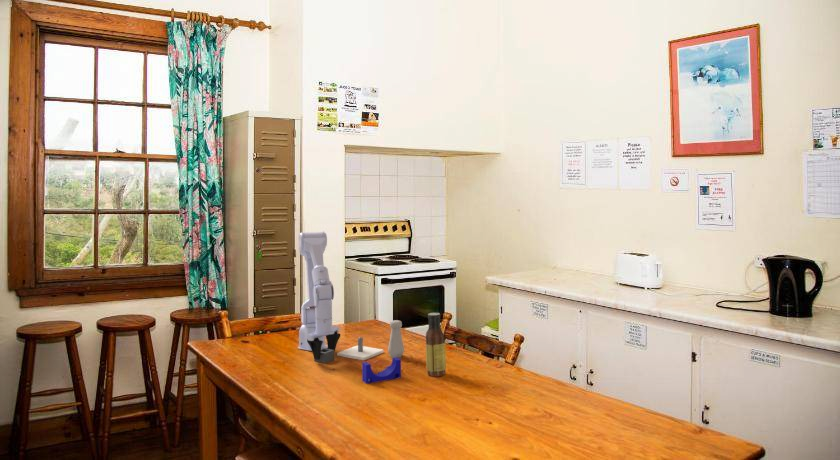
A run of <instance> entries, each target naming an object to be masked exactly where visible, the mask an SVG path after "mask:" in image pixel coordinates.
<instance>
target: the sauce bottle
mask: <svg viewBox="0 0 840 460" xmlns="http://www.w3.org/2000/svg"><path fill="white" fill-rule="evenodd" d="M427 319H428V329H427V330H426V333H425V356H426V357H425V358H426V359H425V360H426V363H425V364H426V372H427V375H428V376H431V377H441V376H444V375H446V368H447V367H446V360H447V359H446V341H445V335H444V333H443V329H442V328H441V313H440V312H430V313H427Z"/></svg>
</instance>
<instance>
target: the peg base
mask: <svg viewBox="0 0 840 460" xmlns="http://www.w3.org/2000/svg"><path fill="white" fill-rule="evenodd" d="M383 353H384V349H382V348H375V347H370V346H365V345H364V337H362V336H359V337H358V336H357V345H354V346H352V347H349V348H346V349H344V350H341V351H338V352H337V353H336V354H337V355H336V356H338V357H344V358H349V359H354V360H359V361H367V360H369V359H371V358H373V357H376V356H378V355H381V354H383Z"/></svg>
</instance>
